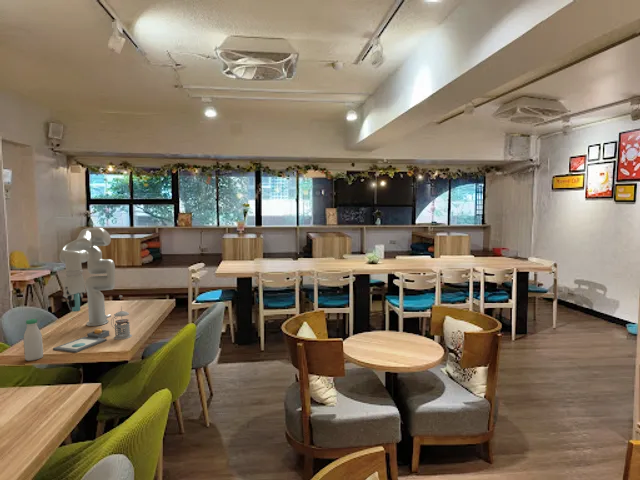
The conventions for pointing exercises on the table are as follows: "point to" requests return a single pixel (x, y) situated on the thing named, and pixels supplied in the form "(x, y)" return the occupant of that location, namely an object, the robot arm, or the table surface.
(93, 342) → the drawing board
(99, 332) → the button
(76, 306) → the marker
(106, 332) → the button housing
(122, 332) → the french press
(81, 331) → the table surface
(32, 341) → the milk bottle
